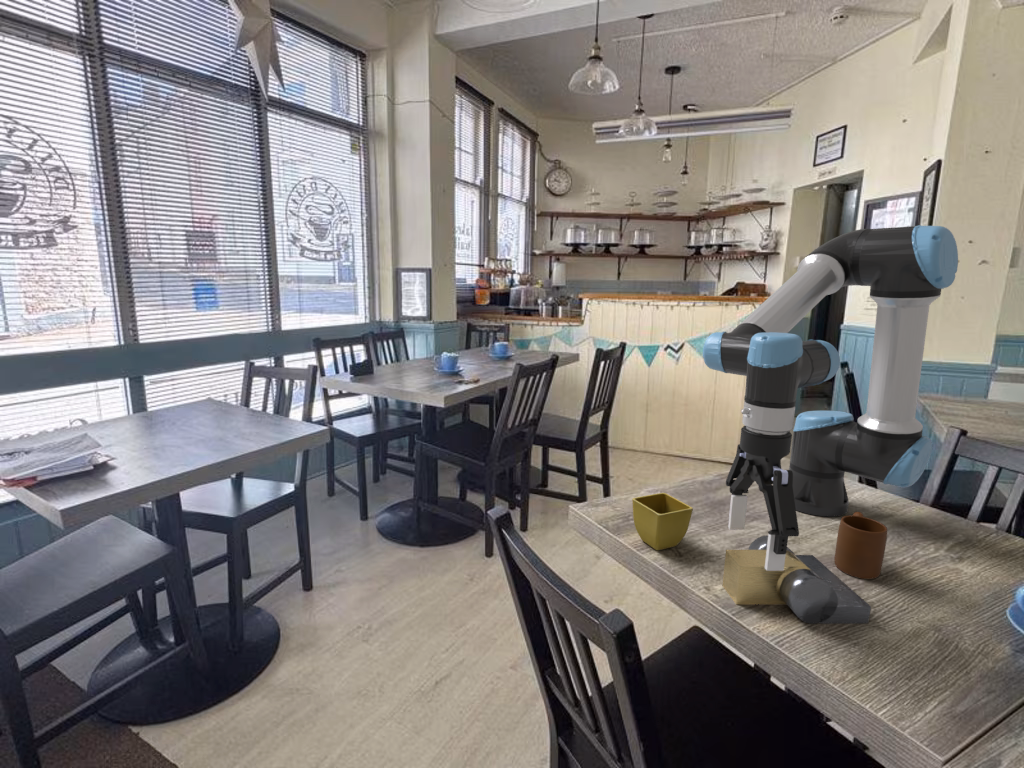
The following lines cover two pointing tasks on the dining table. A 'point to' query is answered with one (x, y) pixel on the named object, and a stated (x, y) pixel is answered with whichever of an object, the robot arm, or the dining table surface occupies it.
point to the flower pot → (661, 519)
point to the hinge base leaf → (818, 593)
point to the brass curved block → (755, 577)
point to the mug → (860, 546)
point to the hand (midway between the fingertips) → (753, 547)
